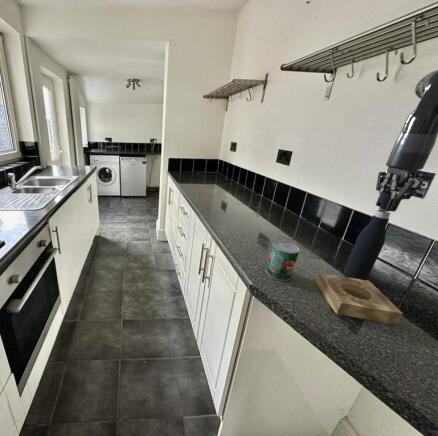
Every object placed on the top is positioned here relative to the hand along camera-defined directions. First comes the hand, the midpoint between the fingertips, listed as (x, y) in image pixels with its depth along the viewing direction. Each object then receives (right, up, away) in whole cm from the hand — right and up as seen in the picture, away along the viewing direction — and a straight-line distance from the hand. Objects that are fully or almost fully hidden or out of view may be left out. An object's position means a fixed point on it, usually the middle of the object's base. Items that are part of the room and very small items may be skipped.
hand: (384, 208), depth 71 cm
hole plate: (-12, -28, -2) cm, 31 cm away
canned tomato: (-28, -23, +10) cm, 37 cm away
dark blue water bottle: (-1, -24, +10) cm, 25 cm away
